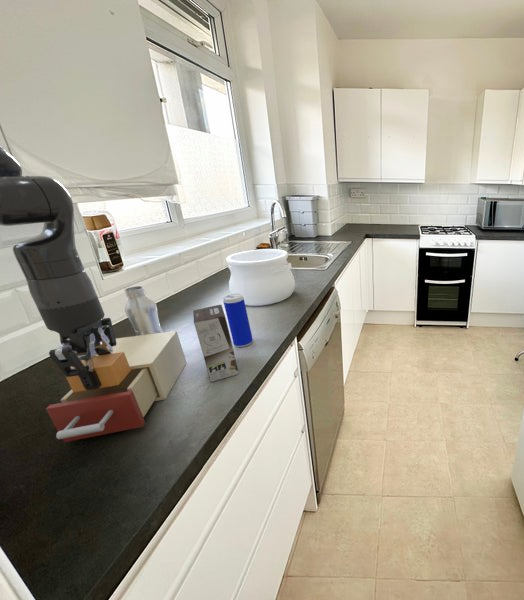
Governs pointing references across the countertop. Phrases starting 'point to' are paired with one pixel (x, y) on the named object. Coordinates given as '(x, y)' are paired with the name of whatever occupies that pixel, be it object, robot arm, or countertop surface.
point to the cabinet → (155, 357)
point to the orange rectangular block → (104, 371)
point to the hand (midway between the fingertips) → (102, 378)
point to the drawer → (105, 407)
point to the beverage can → (238, 320)
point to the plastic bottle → (142, 312)
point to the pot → (261, 276)
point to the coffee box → (215, 342)
